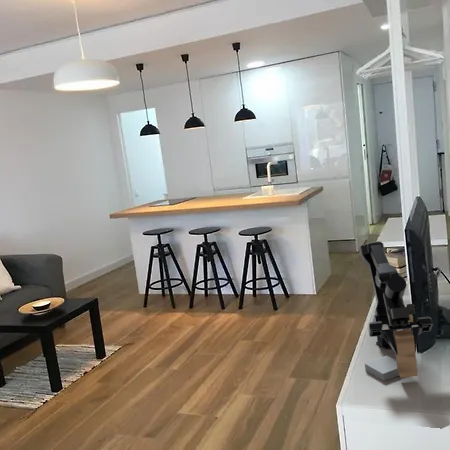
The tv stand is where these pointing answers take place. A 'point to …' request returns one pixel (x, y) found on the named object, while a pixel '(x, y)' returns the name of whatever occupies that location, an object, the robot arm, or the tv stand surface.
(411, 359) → the walnut block
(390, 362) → the grey block
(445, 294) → the tv stand surface
